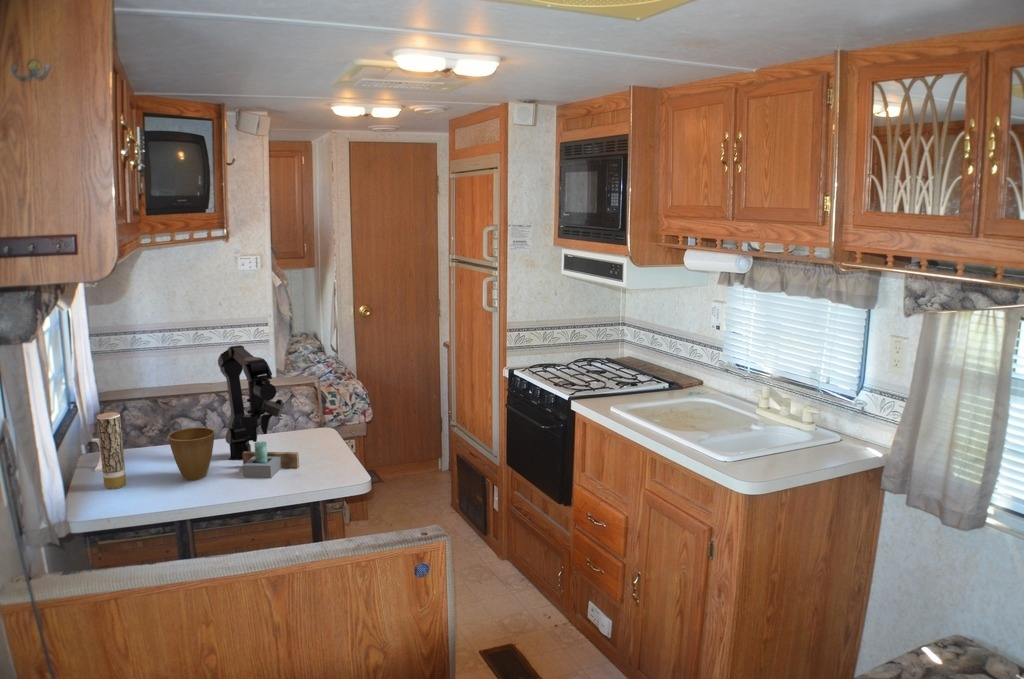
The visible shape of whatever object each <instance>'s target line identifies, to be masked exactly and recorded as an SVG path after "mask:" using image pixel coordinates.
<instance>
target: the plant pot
mask: <svg viewBox="0 0 1024 679" xmlns="http://www.w3.org/2000/svg"><path fill="white" fill-rule="evenodd" d="M167 436H168V442H169V446H170V449H171V452H172V456H173V458H174V460H175V463H176V465H177V469H178V470H179V472H180V474H181V476H182V478H183V480H185V481H189V482H190V481H200V480H202V479H204V478H206V477H207V475H208V471H209V468H210V465H211V459H212V457H213V456H212V455H213V450H214V442H215V429H213V428H209V427H203V426H202V427H201V426H200V427H199V426H198V427H196V426H195V427H187V428H181V429H178V430H175V431H172V432H171V433H169V435H167Z"/></svg>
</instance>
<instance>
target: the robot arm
mask: <svg viewBox="0 0 1024 679" xmlns="http://www.w3.org/2000/svg"><path fill="white" fill-rule="evenodd" d="M217 365H218V367H219V370H220V372H221V373H222V375H223V376H224V377H225V379H226V385H227V392H228V400H229V407H230V413H231V417H230V420H229V422H228V423H227V426H228V429H227V431H226V434H225V435H224V438H225V443H227V445H229V453H230V456H229V457H228V460H240V461H241V460H242V461H243V454H242V453H243V452H245V451H247V452H252V446H251V444H250V442H251V441H252V442H254V443H256V442H258V434H259V432H258V431H259V430H258V429H259V427H260V429H261V430H262V431H261V432H262V434H263V435H267V434H268V430H269V425H270V421H271V418H272V417H276V418H278V417H279V416H281V415H282V413H283V410H284V409H285V404H284V401H283V399H280V398H279V399H276V400H273V399H274V398H275V397H276V395H277V388H276V386H275V385H274V384H271V380H272V379H273V373H272V370H271V368H270V366H269V364H268V362H267V361H266V360H265V358H262V357H257V356H254V355H252V353H250V352H249V351H247V349H246V348H245V346H244V345H241V344H240V345H232V346H230V347H229V346H228V348H227V349H226V350H224V351H223V352H222V353H221V354H220V355H219V356H218V359H217ZM242 372H243V373H244V375H245V377H246V381H247V387H248V388H247V389H248V398H247V399H246V403H249V405H248V406H249V409H248V410H247V414H246V413H245V407H244V399H243V393H242V392H243V390H242V385H241V377H240V376H241V374H242ZM272 400H273V401H272Z"/></svg>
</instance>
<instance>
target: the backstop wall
mask: <svg viewBox="0 0 1024 679" xmlns="http://www.w3.org/2000/svg"><path fill="white" fill-rule="evenodd" d="M242 454H243V460H242V465H243V464H245V463H246V462H247V461H248V460H249V459H251V458H252V457H253V456H255V451H251V452H247V451H245V452H243V453H242ZM267 456H279V457H281V469H293V470H297V469H299V468H300V454H299V452H298V451H297V452H296V451H295V452H293V451H290V452H289V451H267Z"/></svg>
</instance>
